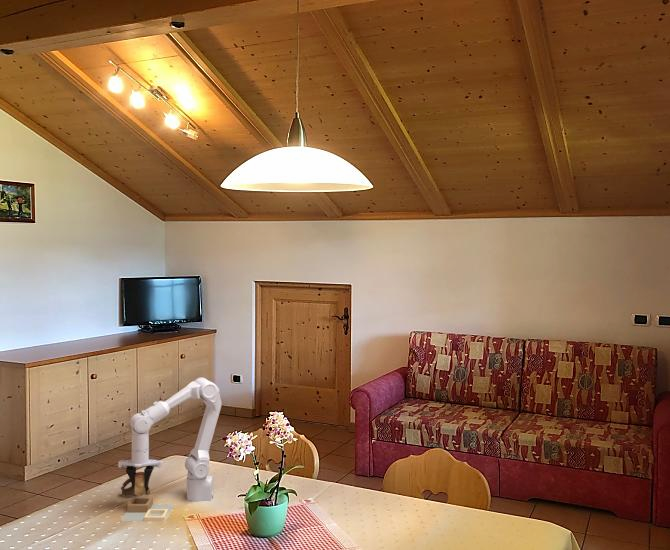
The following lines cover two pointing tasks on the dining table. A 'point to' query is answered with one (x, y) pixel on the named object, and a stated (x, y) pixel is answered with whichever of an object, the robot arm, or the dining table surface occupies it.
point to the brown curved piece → (130, 489)
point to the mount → (146, 510)
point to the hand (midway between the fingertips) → (140, 487)
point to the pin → (139, 483)
